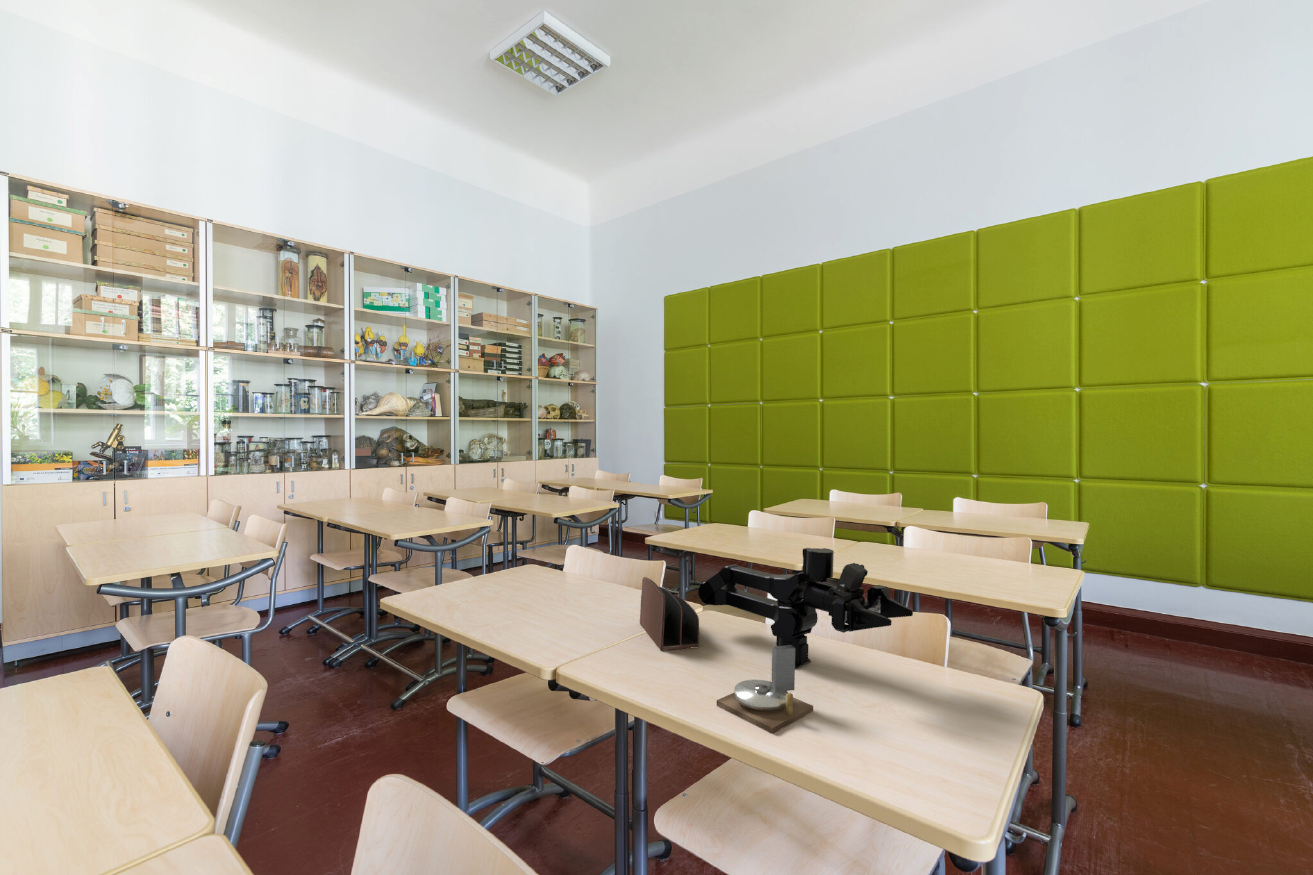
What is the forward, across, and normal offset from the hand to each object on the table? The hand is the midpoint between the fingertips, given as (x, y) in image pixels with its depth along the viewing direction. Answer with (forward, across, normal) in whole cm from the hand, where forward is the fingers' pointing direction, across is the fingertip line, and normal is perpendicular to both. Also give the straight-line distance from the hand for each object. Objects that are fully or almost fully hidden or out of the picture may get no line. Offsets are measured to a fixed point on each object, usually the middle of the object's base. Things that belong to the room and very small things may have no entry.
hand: (902, 617), depth 107 cm
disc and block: (-15, -23, +15) cm, 31 cm away
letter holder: (-55, -11, +17) cm, 59 cm away
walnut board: (-15, -23, +16) cm, 32 cm away
